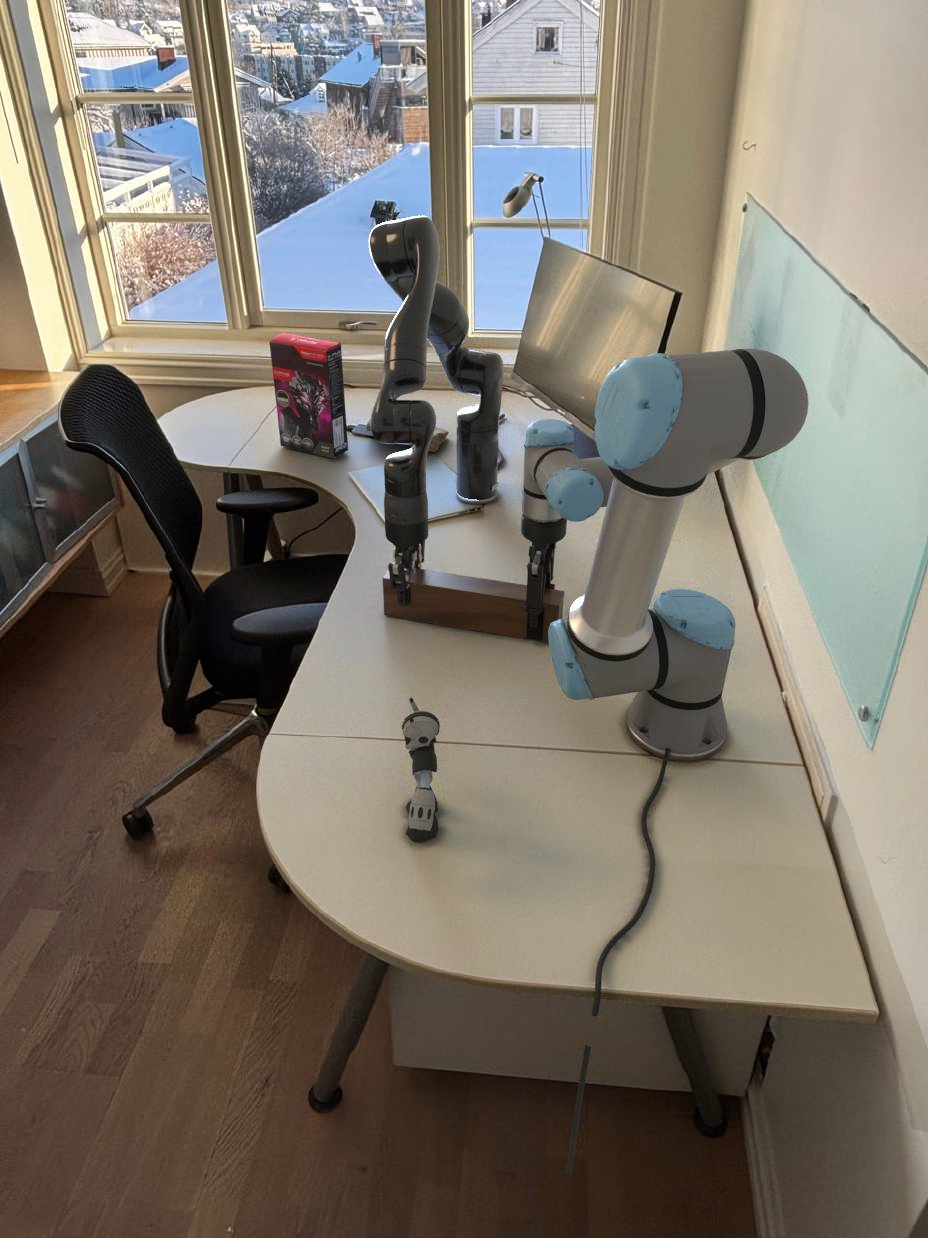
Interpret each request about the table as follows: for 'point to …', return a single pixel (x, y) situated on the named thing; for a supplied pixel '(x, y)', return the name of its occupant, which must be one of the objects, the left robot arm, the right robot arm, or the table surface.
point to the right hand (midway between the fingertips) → (537, 629)
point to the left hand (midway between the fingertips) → (408, 595)
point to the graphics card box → (309, 394)
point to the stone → (436, 439)
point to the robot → (422, 772)
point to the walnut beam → (470, 603)
